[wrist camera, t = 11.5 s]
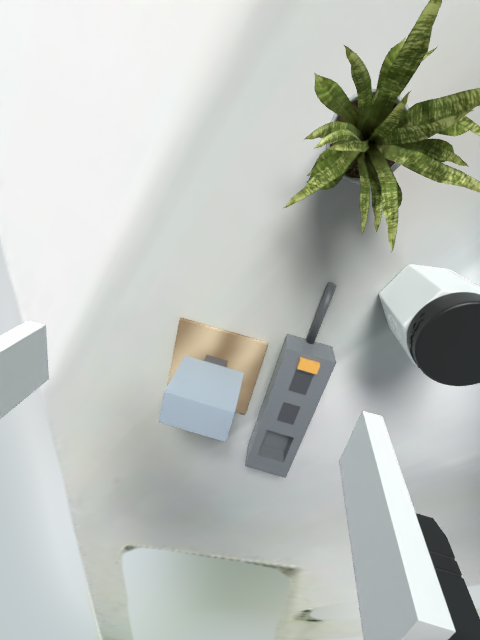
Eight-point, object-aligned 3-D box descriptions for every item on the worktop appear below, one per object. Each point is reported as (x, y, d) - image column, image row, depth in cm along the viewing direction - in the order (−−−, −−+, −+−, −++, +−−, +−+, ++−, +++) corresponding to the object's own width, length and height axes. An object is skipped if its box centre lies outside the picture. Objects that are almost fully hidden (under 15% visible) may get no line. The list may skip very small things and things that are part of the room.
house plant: (331, 254, 38) (357, 305, 23) (252, 155, 35) (225, 141, 20) (451, 161, 33) (582, 151, 18) (370, 36, 30) (448, -98, 15)
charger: (189, 348, 45) (164, 391, 36) (245, 364, 45) (234, 412, 36) (183, 374, 47) (158, 422, 38) (238, 390, 47) (225, 442, 38)
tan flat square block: (268, 342, 44) (267, 344, 43) (245, 411, 49) (245, 414, 48) (181, 317, 44) (179, 319, 44) (167, 388, 49) (166, 391, 49)
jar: (371, 276, 39) (403, 317, 28) (446, 249, 36) (513, 282, 25) (391, 341, 41) (427, 400, 31) (462, 320, 39) (529, 376, 28)
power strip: (307, 276, 40) (309, 288, 35) (356, 290, 39) (364, 304, 35) (248, 445, 51) (244, 470, 47) (285, 456, 51) (285, 482, 47)
